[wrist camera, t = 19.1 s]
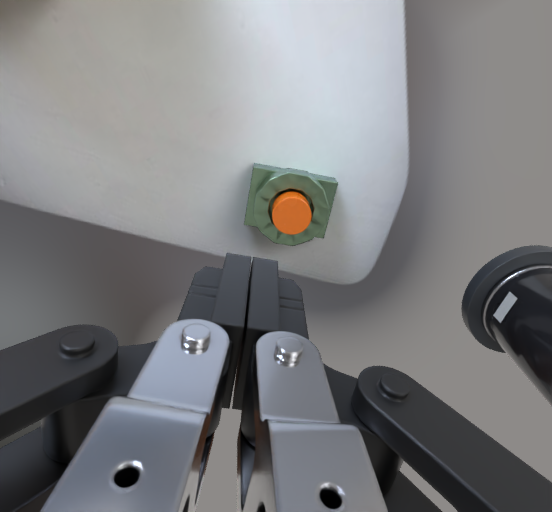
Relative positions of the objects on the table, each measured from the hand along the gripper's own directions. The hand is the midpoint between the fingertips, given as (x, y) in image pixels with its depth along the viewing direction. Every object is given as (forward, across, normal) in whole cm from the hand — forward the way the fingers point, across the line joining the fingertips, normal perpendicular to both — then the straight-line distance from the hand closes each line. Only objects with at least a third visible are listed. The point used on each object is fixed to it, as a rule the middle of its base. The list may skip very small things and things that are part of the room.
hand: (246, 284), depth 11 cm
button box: (+23, -3, +3) cm, 23 cm away
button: (+19, -3, +3) cm, 20 cm away
